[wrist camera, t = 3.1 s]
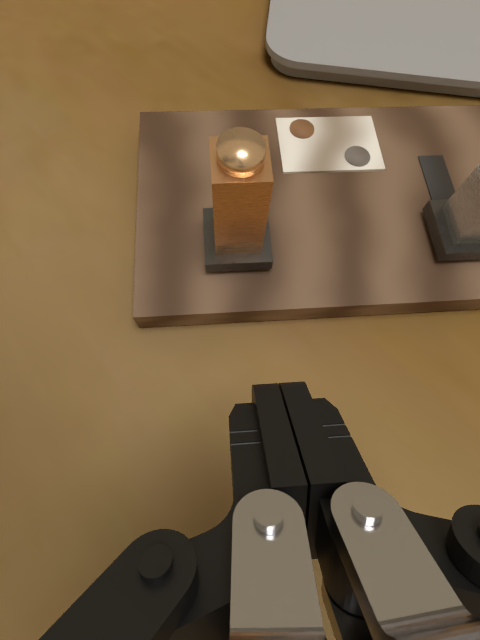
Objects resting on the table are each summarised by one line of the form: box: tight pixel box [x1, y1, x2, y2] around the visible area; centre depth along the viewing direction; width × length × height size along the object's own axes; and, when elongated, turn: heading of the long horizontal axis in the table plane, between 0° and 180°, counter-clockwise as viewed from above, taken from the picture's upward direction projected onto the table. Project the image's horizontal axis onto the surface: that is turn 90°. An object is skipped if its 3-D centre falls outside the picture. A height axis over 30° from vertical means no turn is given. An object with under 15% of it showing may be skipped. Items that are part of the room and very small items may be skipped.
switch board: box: [133, 105, 480, 328], centre depth 28 cm, size 30×18×2 cm, turn 94°
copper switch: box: [203, 127, 274, 272], centre depth 21 cm, size 4×4×8 cm
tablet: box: [265, 0, 480, 97], centre depth 37 cm, size 16×26×2 cm, turn 84°
